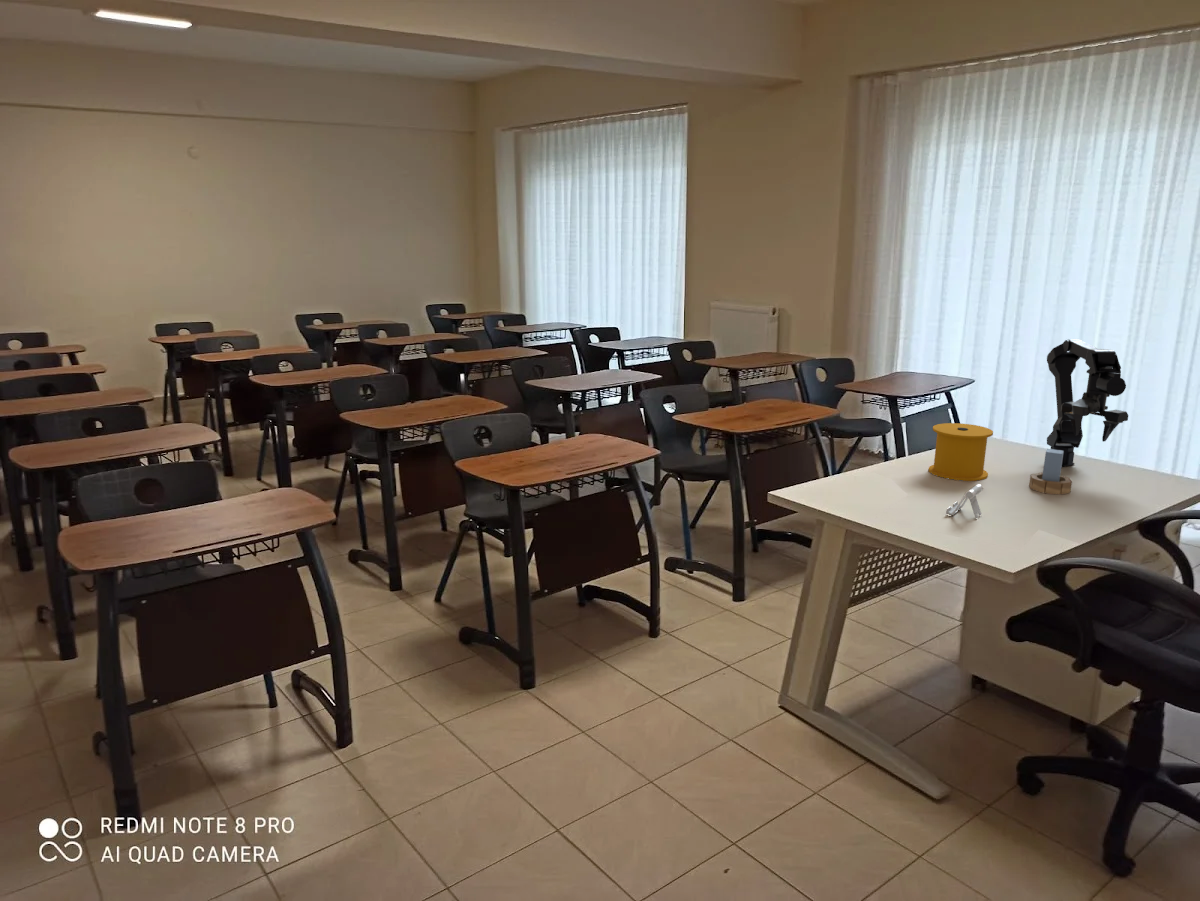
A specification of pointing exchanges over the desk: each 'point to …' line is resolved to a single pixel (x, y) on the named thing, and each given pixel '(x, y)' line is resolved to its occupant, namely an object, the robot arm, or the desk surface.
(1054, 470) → the light blue block
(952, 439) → the spool
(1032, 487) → the octagonal cardboard ring
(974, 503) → the portable electronic device stand
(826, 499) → the desk surface
